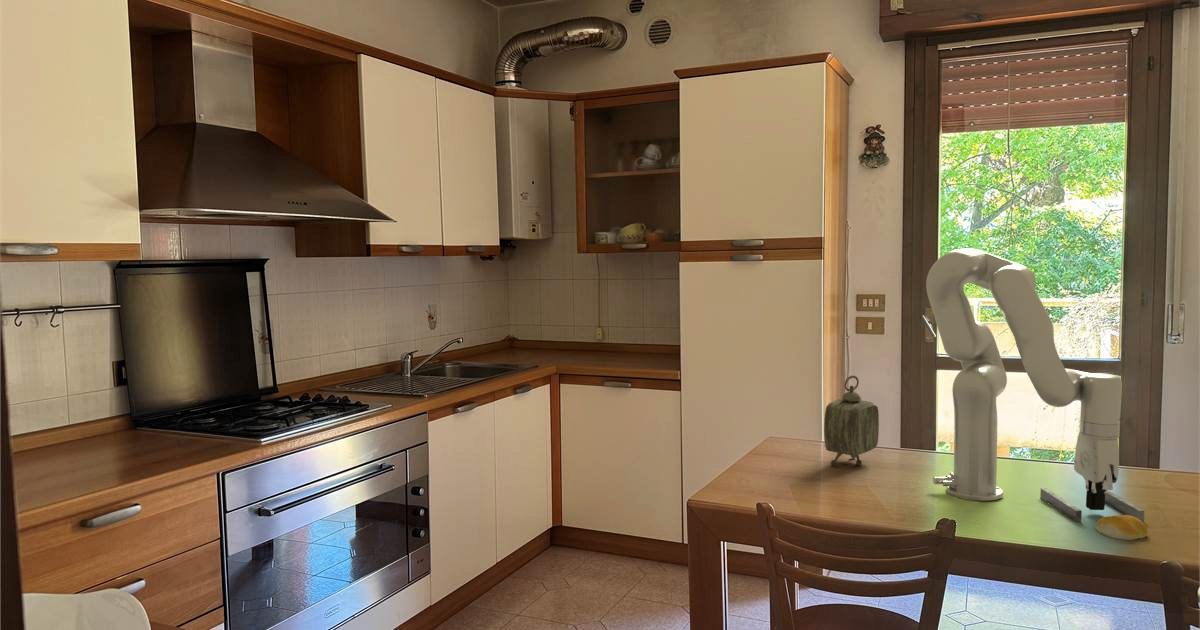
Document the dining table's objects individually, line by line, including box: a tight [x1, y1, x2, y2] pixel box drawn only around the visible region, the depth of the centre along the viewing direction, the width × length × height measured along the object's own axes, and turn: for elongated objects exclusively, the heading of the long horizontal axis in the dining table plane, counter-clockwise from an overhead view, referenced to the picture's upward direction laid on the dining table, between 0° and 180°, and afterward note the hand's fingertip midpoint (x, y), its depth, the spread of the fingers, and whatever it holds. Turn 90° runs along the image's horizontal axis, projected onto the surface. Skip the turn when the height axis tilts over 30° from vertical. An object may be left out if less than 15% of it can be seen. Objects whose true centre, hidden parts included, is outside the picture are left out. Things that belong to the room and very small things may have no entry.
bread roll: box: [1095, 514, 1149, 541], centre depth 169 cm, size 8×9×4 cm
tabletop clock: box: [823, 375, 880, 467], centre depth 223 cm, size 14×9×25 cm, turn 133°
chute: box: [1039, 487, 1145, 523], centre depth 183 cm, size 14×16×2 cm
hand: (1094, 508), depth 180 cm, fingers closed
